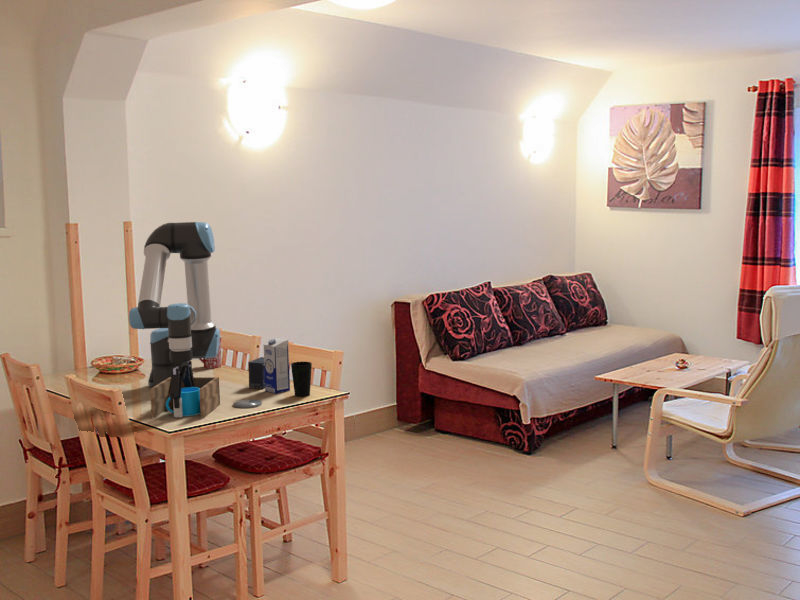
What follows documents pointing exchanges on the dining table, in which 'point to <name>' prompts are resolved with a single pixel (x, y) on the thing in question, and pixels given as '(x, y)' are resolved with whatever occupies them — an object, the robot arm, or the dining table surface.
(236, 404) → the coaster
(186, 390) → the mug
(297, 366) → the cup
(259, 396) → the dining table surface
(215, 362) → the mug
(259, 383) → the small box
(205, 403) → the crate
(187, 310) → the robot arm
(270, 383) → the milk carton
